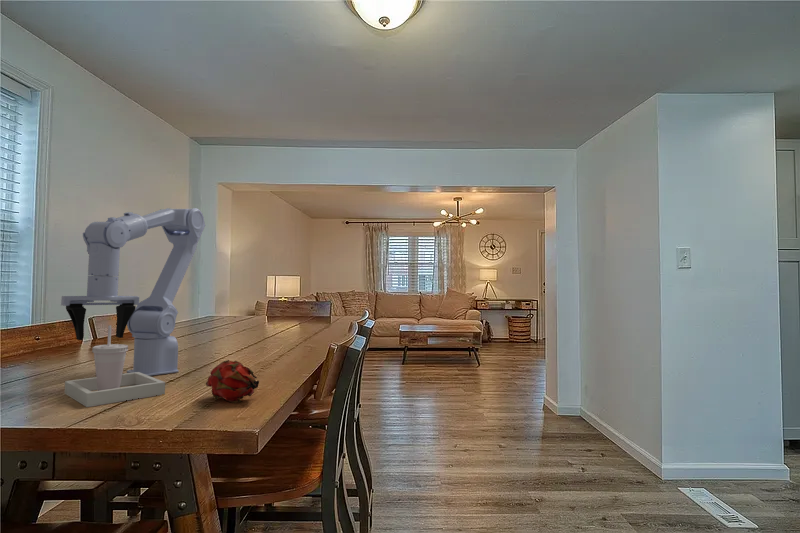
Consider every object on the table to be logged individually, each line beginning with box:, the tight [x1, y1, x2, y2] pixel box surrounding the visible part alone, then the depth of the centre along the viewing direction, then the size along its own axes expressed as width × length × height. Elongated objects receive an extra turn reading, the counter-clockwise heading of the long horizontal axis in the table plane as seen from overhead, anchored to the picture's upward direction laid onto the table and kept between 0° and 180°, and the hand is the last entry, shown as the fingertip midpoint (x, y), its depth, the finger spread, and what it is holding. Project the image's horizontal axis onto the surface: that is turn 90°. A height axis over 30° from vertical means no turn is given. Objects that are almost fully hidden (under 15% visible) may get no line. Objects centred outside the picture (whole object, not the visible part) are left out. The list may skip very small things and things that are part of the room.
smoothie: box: [91, 324, 129, 391], centre depth 98 cm, size 6×6×14 cm
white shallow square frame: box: [64, 372, 166, 408], centre depth 98 cm, size 14×14×2 cm
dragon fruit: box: [205, 359, 260, 404], centre depth 96 cm, size 8×8×12 cm
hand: (100, 338), depth 104 cm, fingers open, 7 cm apart
